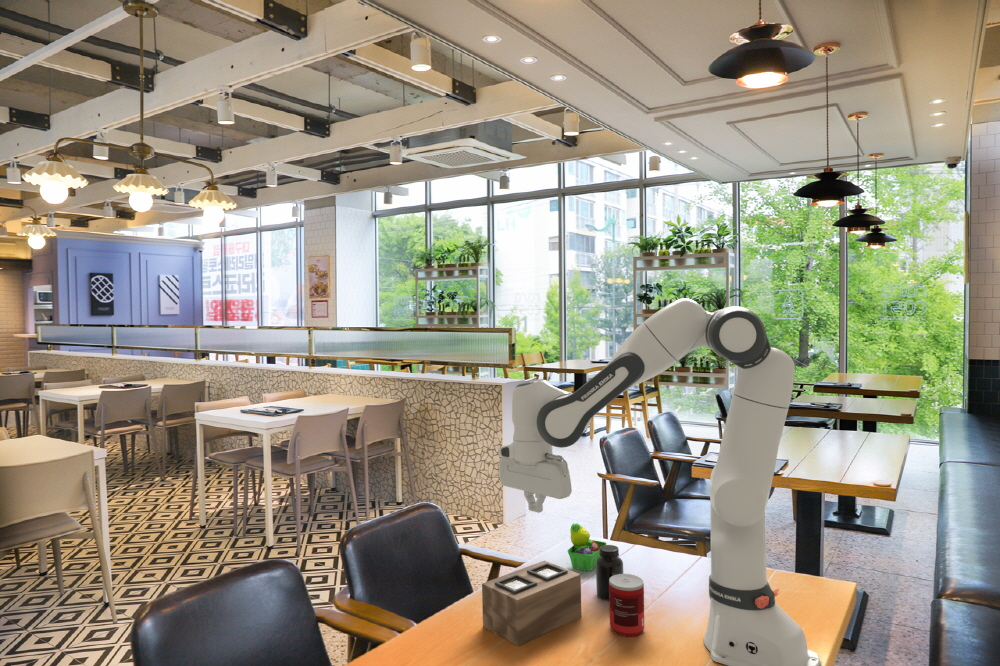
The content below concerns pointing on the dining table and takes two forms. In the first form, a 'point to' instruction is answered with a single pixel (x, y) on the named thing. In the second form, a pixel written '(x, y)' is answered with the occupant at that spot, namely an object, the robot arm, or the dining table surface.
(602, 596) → the supplement bottle
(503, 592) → the socket block
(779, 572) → the dining table surface
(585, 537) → the fruit basket
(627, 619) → the canned food
